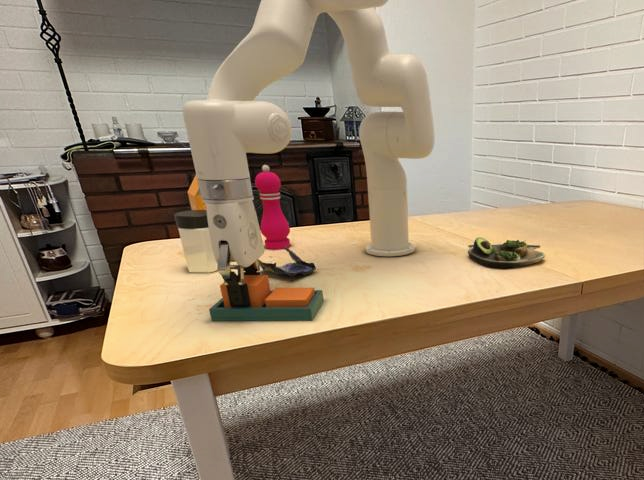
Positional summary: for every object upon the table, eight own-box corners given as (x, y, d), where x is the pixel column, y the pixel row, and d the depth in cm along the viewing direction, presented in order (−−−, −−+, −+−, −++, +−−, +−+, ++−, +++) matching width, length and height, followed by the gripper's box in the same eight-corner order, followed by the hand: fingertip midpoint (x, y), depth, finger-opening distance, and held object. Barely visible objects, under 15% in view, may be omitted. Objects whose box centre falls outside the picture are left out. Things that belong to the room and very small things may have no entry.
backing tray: (233, 301, 86) (230, 290, 85) (323, 300, 87) (322, 289, 86) (211, 321, 78) (208, 309, 77) (312, 320, 78) (310, 308, 77)
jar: (230, 270, 104) (218, 214, 98) (189, 275, 100) (174, 217, 95) (225, 260, 111) (214, 208, 105) (186, 265, 107) (173, 211, 102)
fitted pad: (278, 300, 85) (276, 287, 84) (315, 300, 85) (314, 287, 84) (267, 314, 79) (264, 300, 78) (307, 313, 79) (305, 299, 78)
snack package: (299, 263, 109) (248, 271, 102) (298, 237, 106) (245, 243, 99) (323, 284, 102) (271, 294, 95) (323, 256, 99) (269, 264, 92)
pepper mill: (282, 242, 128) (270, 163, 119) (297, 246, 124) (286, 164, 115) (258, 246, 123) (243, 164, 114) (273, 251, 119) (259, 166, 110)
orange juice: (208, 259, 112) (187, 169, 102) (200, 251, 118) (180, 166, 109) (242, 254, 116) (225, 167, 107) (233, 247, 122) (216, 165, 113)
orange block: (237, 296, 84) (233, 275, 82) (271, 296, 84) (267, 274, 82) (224, 308, 78) (219, 285, 77) (260, 308, 79) (256, 285, 77)
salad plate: (521, 245, 126) (522, 228, 124) (563, 262, 112) (565, 242, 110) (457, 253, 118) (457, 235, 116) (494, 271, 104) (495, 251, 102)
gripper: (230, 198, 65) (253, 318, 74) (267, 184, 81) (283, 284, 89) (175, 198, 65) (204, 319, 73) (223, 184, 80) (243, 285, 89)
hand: (247, 299), depth 81 cm, fingers closed on orange block, 5 cm apart
